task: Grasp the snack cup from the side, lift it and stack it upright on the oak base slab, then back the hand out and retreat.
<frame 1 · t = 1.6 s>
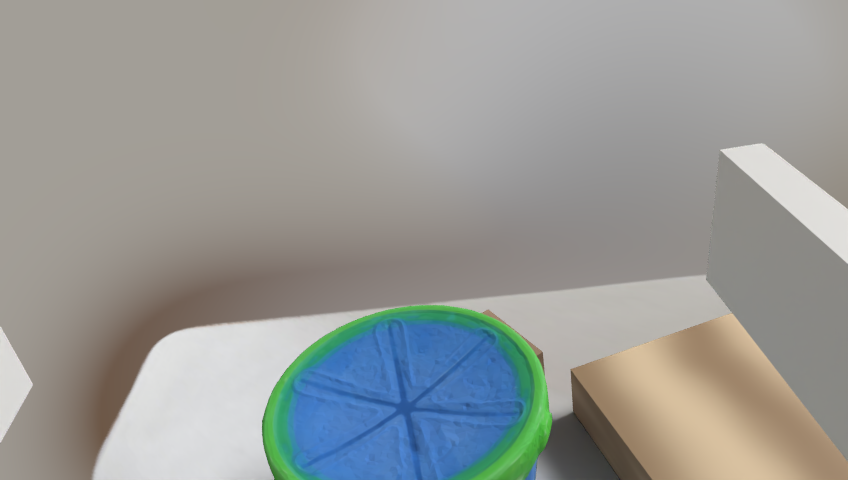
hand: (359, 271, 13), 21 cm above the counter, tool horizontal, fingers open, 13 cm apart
oak base slab: (783, 465, 32), on the counter
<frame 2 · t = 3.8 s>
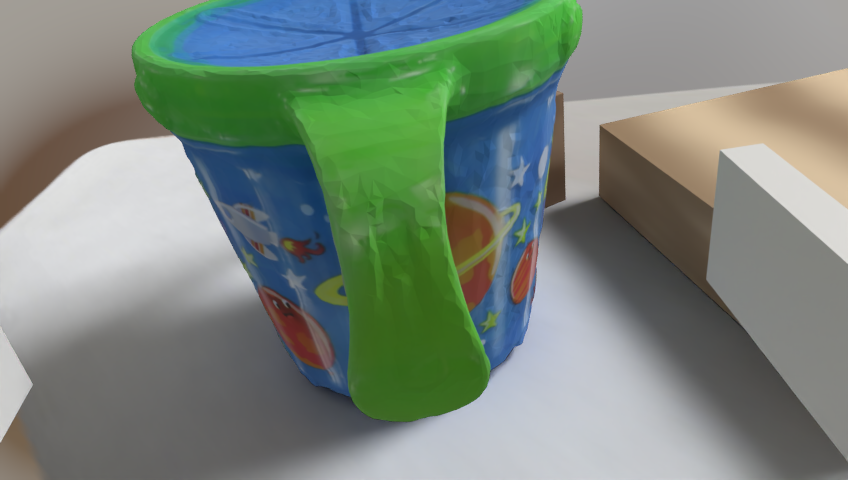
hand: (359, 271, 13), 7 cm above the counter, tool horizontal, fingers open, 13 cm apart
snack cup: (410, 333, 22), on the counter
walnut block: (486, 199, 29), on the counter
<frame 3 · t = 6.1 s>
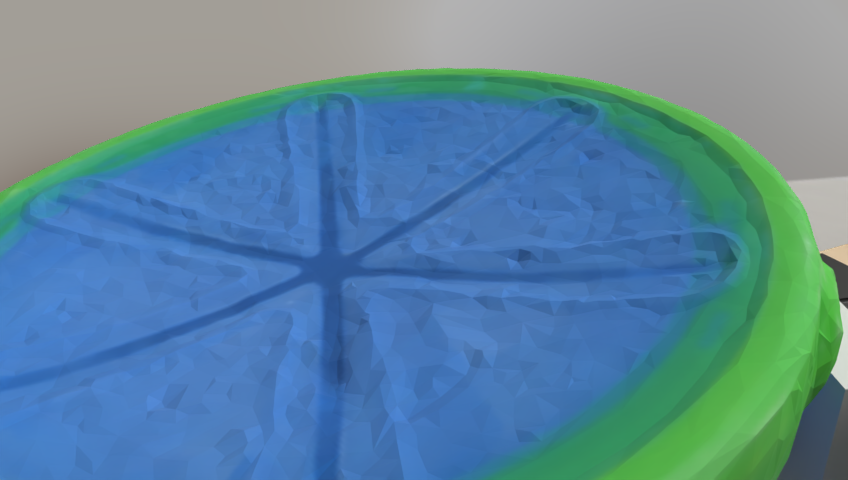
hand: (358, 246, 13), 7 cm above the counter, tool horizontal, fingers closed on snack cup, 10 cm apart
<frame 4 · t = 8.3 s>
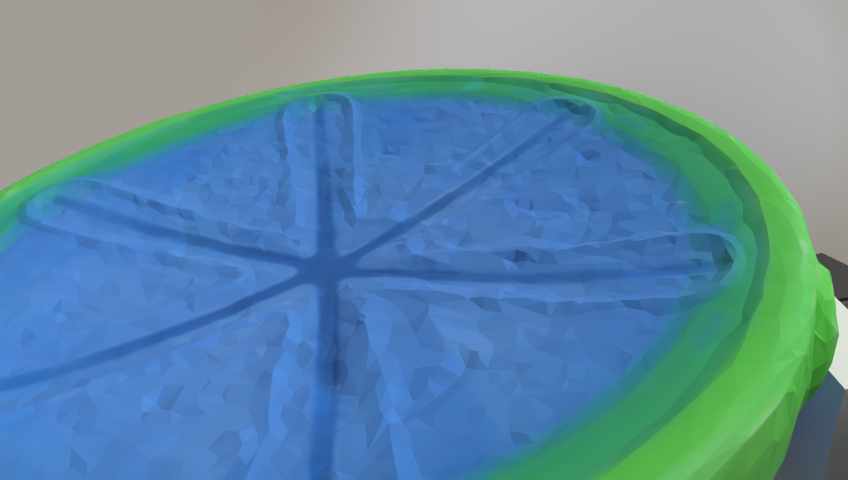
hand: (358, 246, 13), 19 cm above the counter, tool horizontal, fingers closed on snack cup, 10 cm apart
when the fingers open (11 cm above the counter, at t = 10.8 s): snack cup drops 1 cm, resting on oak base slab.
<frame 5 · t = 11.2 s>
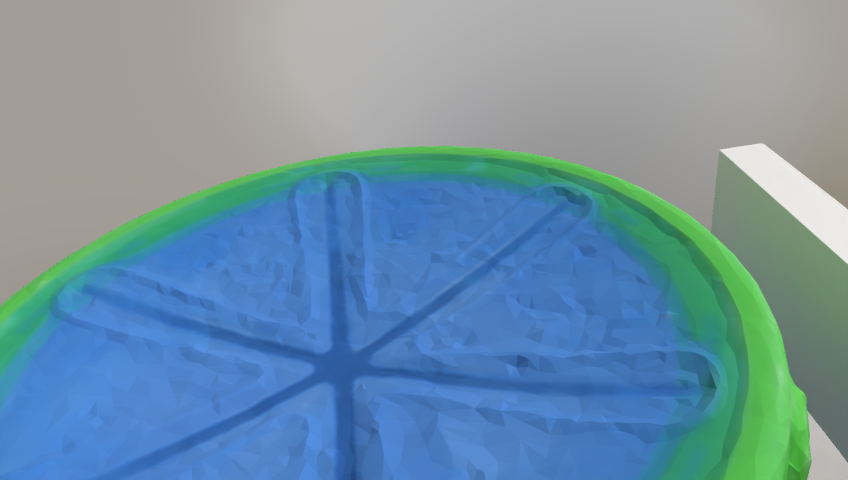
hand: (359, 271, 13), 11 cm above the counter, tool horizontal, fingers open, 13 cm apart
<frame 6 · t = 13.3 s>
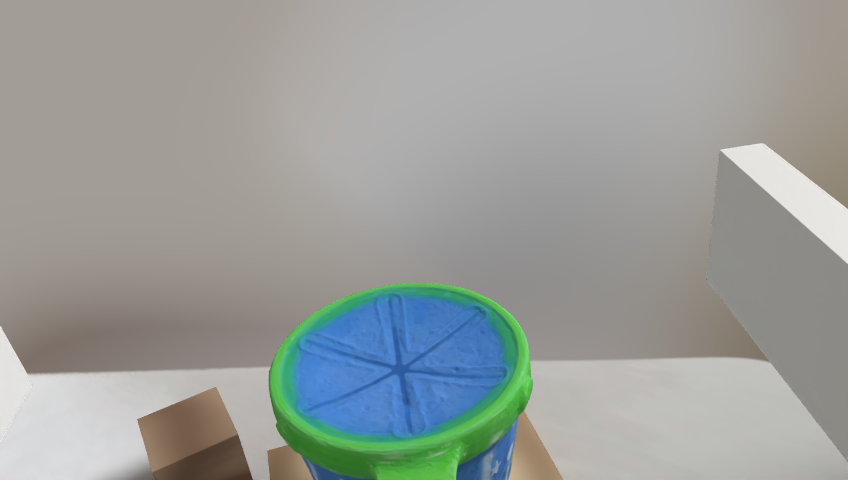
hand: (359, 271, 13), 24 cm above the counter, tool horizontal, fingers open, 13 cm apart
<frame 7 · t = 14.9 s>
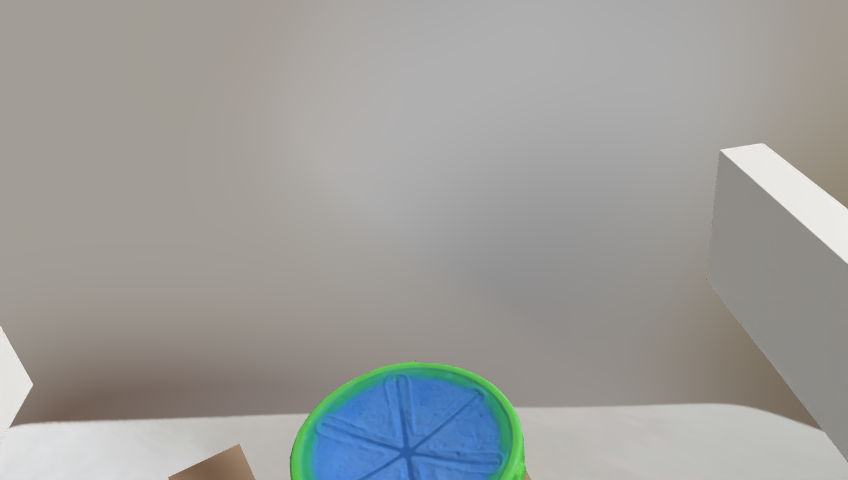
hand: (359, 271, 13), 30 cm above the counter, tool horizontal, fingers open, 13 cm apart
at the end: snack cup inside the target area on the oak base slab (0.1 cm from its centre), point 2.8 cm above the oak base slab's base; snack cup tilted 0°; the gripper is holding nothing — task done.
